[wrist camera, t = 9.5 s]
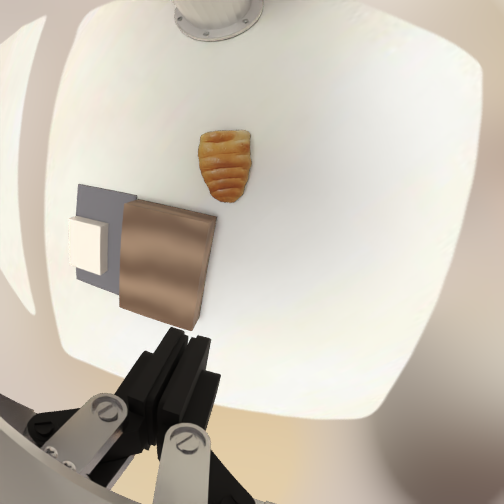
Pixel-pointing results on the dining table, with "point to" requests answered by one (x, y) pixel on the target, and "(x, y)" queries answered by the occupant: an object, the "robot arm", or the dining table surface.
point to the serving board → (164, 261)
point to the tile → (88, 244)
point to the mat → (109, 211)
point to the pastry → (225, 163)
